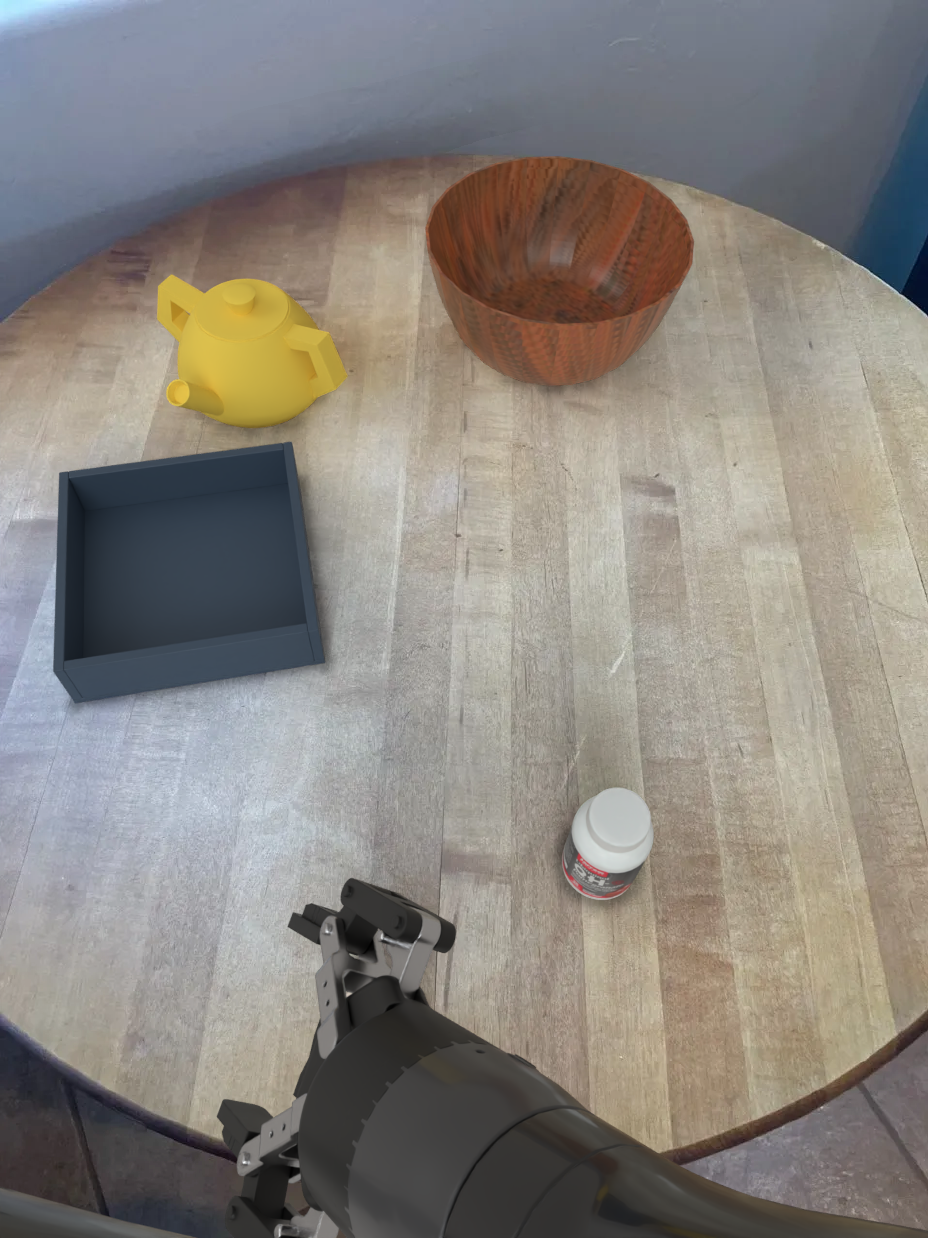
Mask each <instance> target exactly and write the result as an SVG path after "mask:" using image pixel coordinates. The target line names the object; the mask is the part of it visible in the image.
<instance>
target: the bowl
mask: <svg viewBox="0 0 928 1238" xmlns="http://www.w3.org/2000/svg"><path fill="white" fill-rule="evenodd" d="M424 230H425V239H426V249H427V256H428V259H429V263H430V268H431V272H432V276H433V278H434V283H435V285H436V289H437V292H438V294H439V297H440V300H441V303H442V305H443V307H444V309H445V311H446V314H447V315H448V316H449V319H450V321H451V323H452V325H453V327H454V329H455V330H456V332H457V334H458V336H459V338H460V339H461V341H462V342H463V343H464V345H465V346H466V347H467V348H468V349H469V350H470V351H471V352H472V353H473V354H474V355H475V356H476V357H477V359H479V360H480V361H481V362H482V363H484V365H486V366H488V367H490V368H491V369H493V370H495V371H496V372H498V373H500V374H501V375H504V376H506V377H508V378H512V379H515V380H518V381H520V382H523V383H526V384H533V385H540V386H546V387H547V386H548V387H549V386H550V387H551V386H552V387H553V386H573V385H576V384H579V383H580V384H581V383H584V382H589V381H592V380H596V379H598V378H600V377H602V376H604V375H606V374H608V373H610V372H612V371H614V370H615V369H618V368H619V367H621V366H622V365H623V364H624V363H625V362H626V361H628V360H629V359H630V358H631V357H632V356H633V355H634V354H636V352H637V351H639V350H640V349H641V348H642V347H643V346H644V345H645V344H646V343H647V341H648V340H649V339H650V338H651V337H652V335H653V334H654V333H655V331H656V330H657V328H658V327H659V326H660V324H661V323H662V322H663V319H664V318H665V316H666V314H667V313H668V311H669V309H670V308H671V306H672V304H673V302H674V300H675V298H676V297H677V294H678V293H679V291H680V289H681V287H682V286H683V283H684V282H685V279H686V278H687V275H688V274H689V272H690V270H691V267H692V266H693V261H694V248H695V240H694V237H693V233H692V231H691V227H690V224H689V222H688V219H687V217H686V216H685V214H683V212H682V211H681V209H680V208H679V207H678V206H677V204H676V203H675V202H674V201H673V199H672V198H670V197H669V196H668V195H667V194H665V193H664V192H663V191H661V190H660V189H659V188H658V187H656V186H655V185H653V184H652V183H651V182H649V181H647V180H646V179H644V178H641V177H640V176H637V175H636V174H634V173H631V172H629V171H627V170H625V169H623V168H620V167H616V166H613V165H609V164H606V163H602V162H599V161H596V160H592V159H587V158H586V159H585V158H577V157H571V156H570V157H569V156H561V155H549V156H523V157H519V158H514V159H510V160H504V161H499V162H495V163H492V164H490V165H487V166H484V167H482V168H479V169H477V170H473V171H472V172H469V173H468V174H466V175H465V176H463V177H462V178H460V179H459V180H457V181H456V182H454V183H453V184H451V185H450V186H448V187H447V188H446V189H445V191H443V193H442V194H441V195H440V197H439V198H438V199H437V200H436V202H435V203H434V204H433V205H432V206H431V209H430V213H429V216H428V218H427V221H426V224H425V228H424Z"/></svg>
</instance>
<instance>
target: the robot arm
mask: <svg viewBox="0 0 928 1238" xmlns="http://www.w3.org/2000/svg"><path fill="white" fill-rule="evenodd" d="M340 903H341V905H342V908H341V909H340V910H339V911H338V910H335V909H331V908H329V907H326V906H321V905H320V904H316V903H313V902H311V903H307V904H305V905H304V908H303V912H302V913H299V912H294V911H292V913H291V916H290V918H289V922H288V923H287V928H288V929H290V930H291V931H293V932H295V933H297V934H298V935H300V936H302V937H303V938H305V939H307V940H308V941H310V942H312V943H313V944H315V945H319V946H320V951H321V959H322V965H321V967H319V969H318V970H317V971H316V973H315V975H314V979H315V986H316V993H317V994H316V995H317V1004H318V1010H319V1020H318V1022H317V1025H316V1028H315V1031H314V1034H313V1038H312V1042H311V1046H310V1050H309V1055H308V1058H307V1060H306V1062H305V1064H304V1066H303V1068H302V1070H301V1072H300V1074H299V1076H298V1079H297V1083H296V1085H295V1087H294V1091H293V1093H292V1095H293V1097H295V1099H293V1101H291V1106H290V1107H288V1108H287V1109H285V1110H283V1111H281V1112H280V1113H278V1114H277V1115H275V1116H273V1115H272V1114H271V1113H270V1112H269V1110H267V1109H266V1108H264V1107H263V1106H261V1105H258V1104H255V1103H249V1102H245V1101H240V1100H233V1099H228V1098H224V1099H222V1100H221V1104H220V1106H219V1109H218V1111H217V1114H216V1118H217V1119H218V1121H219V1122H220V1123H221V1124H222V1126H223V1128H222V1129H221V1135H222V1140H223V1142H224V1144H225V1145H226V1146H227V1147H228V1149H229V1150H230V1151H231V1153H232V1154H233V1155H234V1157H235V1158H236V1159H237V1161H236V1171H237V1174H238V1175H239V1176H241V1177H243V1183H242V1189H241V1193H240V1195H234V1196H232V1197H231V1198H230V1199H229V1202H228V1203H227V1207H226V1210H225V1215H224V1227H225V1229H226V1230H227V1232H229V1234H230V1235H231V1237H232V1238H338V1234H339V1231H340V1232H341V1233H342V1234H343V1235H344V1236H345V1238H928V1230H927V1229H923V1228H917V1227H910V1226H906V1225H900V1224H896V1223H895V1224H894V1223H888V1222H882V1221H877V1220H870V1219H866V1218H865V1219H864V1218H859V1217H853V1216H847V1215H840V1214H835V1213H829V1212H824V1211H818V1210H812V1209H806V1208H801V1207H797V1206H794V1205H789V1204H785V1203H781V1202H777V1201H774V1200H769V1199H767V1198H762V1197H757V1196H754V1195H750V1194H748V1193H744V1192H743V1191H739V1190H736V1189H733V1188H731V1187H728V1186H726V1185H724V1184H721V1183H718V1182H716V1181H714V1180H711V1179H708V1178H707V1177H704V1176H702V1175H700V1174H697V1173H695V1172H693V1171H691V1170H689V1169H688V1168H685V1167H683V1166H681V1165H679V1164H678V1163H676V1162H675V1161H673V1160H671V1159H670V1158H667V1157H665V1156H664V1155H663V1154H660V1153H659V1152H658V1151H656V1150H654V1149H652V1148H651V1147H648V1145H646V1144H645V1143H642V1142H641V1141H639V1140H637V1139H636V1138H634V1137H633V1136H631V1135H629V1134H628V1133H626V1132H624V1131H622V1130H620V1129H619V1128H617V1127H616V1126H614V1125H613V1124H610V1123H609V1122H607V1121H605V1120H604V1119H602V1118H601V1117H599V1116H598V1115H596V1114H594V1113H593V1112H591V1111H590V1110H588V1109H587V1108H586V1106H584V1105H583V1104H581V1102H580V1101H579V1100H577V1099H576V1097H574V1096H573V1095H572V1094H571V1093H570V1092H568V1091H567V1090H566V1089H564V1087H562V1086H561V1085H560V1084H559V1083H557V1082H556V1081H554V1080H553V1079H551V1078H549V1076H547V1075H545V1074H544V1073H542V1072H541V1071H540V1070H538V1069H537V1067H536V1065H534V1064H533V1063H532V1062H530V1061H528V1060H527V1059H525V1058H523V1057H521V1056H520V1055H518V1054H516V1053H515V1054H513V1053H510V1052H506V1051H504V1050H503V1049H502V1048H499V1047H497V1046H496V1045H495V1044H493V1043H491V1042H489V1041H487V1039H484V1038H483V1037H480V1036H479V1035H477V1034H475V1033H474V1032H472V1031H470V1030H468V1029H467V1028H465V1027H464V1026H462V1025H460V1024H458V1023H457V1022H455V1021H453V1020H452V1019H450V1018H449V1017H446V1016H445V1015H443V1014H442V1013H440V1012H439V1011H436V1010H435V1009H434V1008H433V1007H431V1006H430V1004H429V1001H428V999H427V997H426V993H425V992H424V990H423V989H422V987H421V986H420V985H421V983H422V980H423V977H424V974H425V972H426V969H427V966H428V963H429V961H430V958H431V956H432V954H433V951H435V952H437V953H441V954H446V953H447V954H448V952H449V951H451V949H452V948H453V947H454V944H455V943H456V942H455V941H456V938H457V930H456V929H457V928H456V926H455V925H454V923H452V922H451V921H449V920H447V919H445V918H444V917H441V916H440V915H438V914H436V913H434V912H432V911H430V910H429V909H428V908H426V907H424V906H422V905H420V904H419V903H417V902H415V901H413V900H412V899H410V898H408V897H406V896H404V895H403V894H401V893H399V892H397V891H394V890H391V889H387V888H384V887H381V886H378V885H376V884H372V883H369V882H367V881H363V880H360V879H357V878H355V877H350V878H348V879H347V880H346V881H345V882H344V884H343V886H342V888H341V892H340ZM383 944H384V945H385V949H386V953H387V954H388V955H389V956H390V961H391V965H390V966H389V964H388V963H387V960H386V956H385V950H384V946H383ZM352 955H354V956H357V957H358V958H356V957H354V956H352ZM347 992H350V993H352V994H351V995H349V996H348V997H346V994H347ZM299 1181H300V1183H301V1184H300V1185H301V1191H302V1195H303V1198H304V1200H305V1202H306V1203H307V1205H308V1206H309V1209H308V1211H307V1212H306V1214H303V1215H302V1214H301V1213H300V1212H299V1211H298V1210H297V1209H296V1208H295V1207H294V1206H293V1205H292V1204H291V1203H290V1202H286V1197H287V1193H288V1187H289V1184H295V1183H297V1182H299ZM0 1238H197V1237H195V1236H191V1235H186V1234H182V1233H177V1232H173V1231H170V1230H165V1229H161V1228H156V1227H152V1226H149V1225H148V1226H147V1225H143V1224H139V1223H135V1222H130V1221H126V1220H122V1219H118V1218H115V1217H112V1216H108V1215H104V1214H101V1213H98V1212H93V1211H90V1210H86V1209H82V1208H78V1207H75V1206H71V1205H68V1204H65V1203H61V1202H57V1201H54V1200H50V1199H46V1198H42V1197H39V1196H35V1195H32V1194H28V1193H25V1192H21V1191H18V1190H14V1189H10V1188H6V1187H4V1186H0Z"/></svg>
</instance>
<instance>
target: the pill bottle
mask: <svg viewBox="0 0 928 1238" xmlns="http://www.w3.org/2000/svg"><path fill="white" fill-rule="evenodd" d="M654 838H655V831H654V825H653V822H652V814H651V812H650V808H649V806H648V804H647V803H646V801H645V800H644V799H643V798H642V797H641V795H640V794H638V793H637V792H635V791H633V790H631V789H629V788H626V787H619V786H617V787H616V786H614V787H609V788H606V789H603V790H602V791H600V792H599V793H598V794H596V795H594V796H592V797H590V798H588V799H587V800H586V801H584V802H583V803H582V804H581V806H579V808H578V809H577V811H576V813H575V815H574V816H573V819H572V823H571V826H570V829H569V832H568V835H567V838H566V840H565V843H564V846H563V849H562V850H563V851H562V855H561V867H562V871H563V874H564V877H565V878H566V880H567V882H568V883H569V885H570V886H571V887H572V888H573V890H575V891H576V892H577V893H579V894H581V896H584V897H586V898H588V899H591V900H596V901H607V900H613V899H614V898H618V897H620V896H621V895H623V894H624V893H625V892H626V891H627V890H629V888H630V887H631V886H632V884H633V882H634V881H635V879H636V878H637V876H638V874H639V873H640V871H641V869H642V867H644V866H643V865H644V864H645V862H646V860H647V859H648V857H649V855H650V853H651V851H652V848H653V843H654V840H655V839H654Z"/></svg>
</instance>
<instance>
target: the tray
mask: <svg viewBox="0 0 928 1238" xmlns="http://www.w3.org/2000/svg"><path fill="white" fill-rule="evenodd" d="M57 494H58V495H57V497H58V498H57V524H56V525H57V528H56V530H57V531H56V558H55V560H56V561H55V562H56V564H55V591H54V592H55V595H54V625H53V627H54V629H53V656H52V657H53V658H52V659H53V662H52V672H53V674H54V675H55V676H56V678H57V679H58V681H59V682H60V684H61V685H62V687H63V689H65V691H66V692H67V694H68V696H69V697H70V698H71V699H72V701H73V703H74V704H79V703H86V702H92V701H93V702H94V701H98V700H105V699H110V698H117V697H123V696H124V697H125V696H130V695H136V694H141V693H148V692H153V691H160V690H166V689H173V688H180V687H185V686H190V685H197V684H204V683H210V682H217V681H222V680H228V679H236V678H240V677H241V678H242V677H246V676H253V675H259V674H265V673H271V672H277V671H284V670H290V669H296V668H297V669H298V668H302V667H308V666H315V665H320V664H325V663H326V658H325V651H324V644H323V637H322V631H321V623H320V616H319V609H318V601H317V596H316V595H317V594H316V587H315V581H314V575H313V567H312V566H313V565H312V561H311V553H310V546H309V539H308V533H307V525H306V517H305V511H304V504H303V497H302V490H301V483H300V476H299V471H298V467H297V461H296V456H295V451H294V445H293V441H285V442H278V443H270V444H264V445H263V444H262V445H255V446H246V447H241V448H239V447H238V448H231V449H225V450H218V451H209V452H202V453H201V452H200V453H195V454H186V455H179V456H170V457H163V458H157V459H150V460H142V461H134V462H126V463H118V464H113V465H105V466H98V467H97V466H95V467H90V468H89V467H88V468H82V469H74V470H69V471H67V470H66V471H60V472H59V473H58V493H57Z"/></svg>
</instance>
